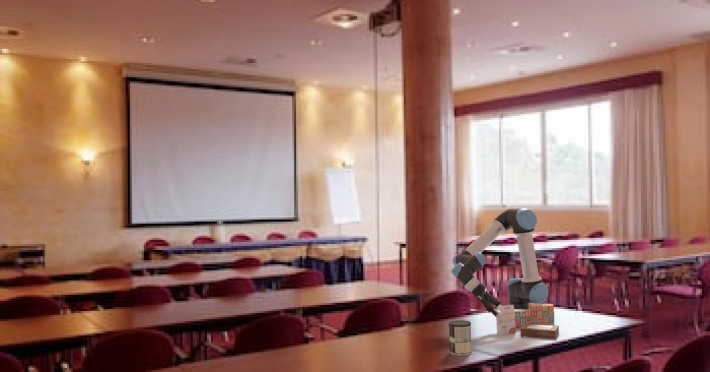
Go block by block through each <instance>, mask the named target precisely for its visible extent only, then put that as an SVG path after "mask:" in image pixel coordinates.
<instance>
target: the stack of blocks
mask: <svg viewBox="0 0 710 372" xmlns="http://www.w3.org/2000/svg"><path fill="white" fill-rule="evenodd" d="M554 310H555V306H554V304H552V303H544V302H542V303H529V309H514V312H515V329H521V328H522V327H523V326H524V325H525V324H536V325H555V311H554Z"/></svg>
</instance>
